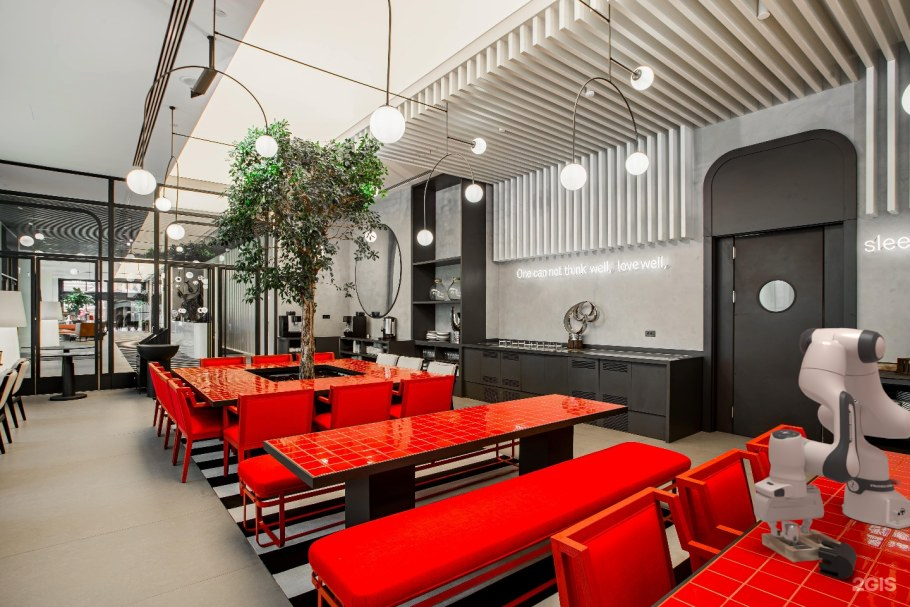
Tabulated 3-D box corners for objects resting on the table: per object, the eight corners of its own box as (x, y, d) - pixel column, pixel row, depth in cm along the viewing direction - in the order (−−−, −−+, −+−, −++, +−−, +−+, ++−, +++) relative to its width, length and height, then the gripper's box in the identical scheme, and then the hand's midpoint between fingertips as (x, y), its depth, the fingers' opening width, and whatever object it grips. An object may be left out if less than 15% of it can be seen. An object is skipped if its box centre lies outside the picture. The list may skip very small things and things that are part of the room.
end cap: (853, 584, 119) (852, 557, 119) (818, 574, 124) (817, 548, 124) (857, 570, 126) (856, 544, 126) (824, 560, 131) (823, 536, 131)
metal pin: (791, 547, 138) (790, 520, 139) (803, 554, 134) (801, 526, 135) (779, 548, 138) (778, 521, 138) (791, 555, 134) (789, 526, 134)
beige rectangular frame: (814, 539, 143) (814, 529, 144) (849, 557, 132) (848, 545, 133) (762, 543, 141) (761, 533, 141) (793, 562, 130) (792, 550, 130)
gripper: (809, 480, 142) (811, 527, 141) (749, 484, 139) (751, 531, 138) (828, 488, 135) (831, 536, 135) (765, 492, 133) (768, 541, 132)
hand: (790, 534), depth 136 cm, fingers open, 8 cm apart
